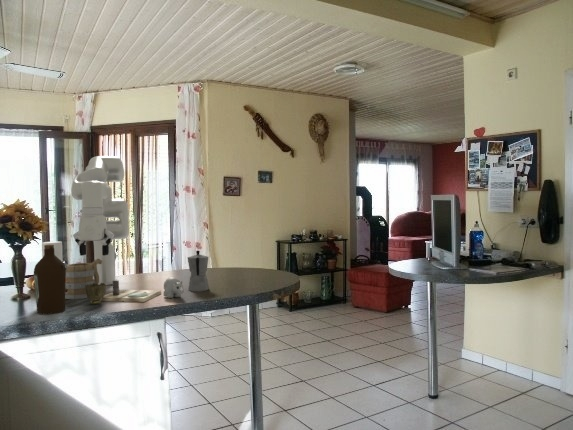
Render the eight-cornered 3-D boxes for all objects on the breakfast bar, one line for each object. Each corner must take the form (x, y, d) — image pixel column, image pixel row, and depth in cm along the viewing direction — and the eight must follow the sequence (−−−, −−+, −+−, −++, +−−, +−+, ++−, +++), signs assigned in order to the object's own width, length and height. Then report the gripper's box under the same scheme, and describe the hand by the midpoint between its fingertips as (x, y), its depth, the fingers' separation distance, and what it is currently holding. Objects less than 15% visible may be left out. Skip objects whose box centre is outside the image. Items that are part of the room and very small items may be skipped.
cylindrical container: (48, 302, 182) (46, 241, 181) (66, 302, 183) (64, 241, 182) (40, 306, 175) (38, 243, 174) (59, 306, 176) (57, 242, 175)
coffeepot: (188, 287, 209) (188, 249, 209) (209, 286, 211) (208, 248, 210) (187, 294, 194) (186, 253, 194) (209, 293, 196) (208, 252, 195)
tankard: (80, 300, 186) (79, 264, 185) (57, 298, 190) (56, 263, 190) (114, 291, 204) (113, 258, 204) (92, 289, 209) (91, 257, 208)
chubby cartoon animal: (173, 301, 179) (173, 280, 179) (161, 297, 189) (160, 277, 188) (189, 299, 184) (189, 278, 184) (176, 294, 193) (176, 275, 193)
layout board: (98, 301, 183) (97, 282, 183) (119, 293, 199) (118, 276, 199) (143, 301, 180) (143, 283, 180) (161, 293, 196) (160, 276, 196)
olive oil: (67, 306, 174) (65, 243, 173) (66, 312, 164) (64, 245, 163) (36, 310, 169) (34, 244, 169) (33, 316, 160) (31, 247, 159)
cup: (109, 301, 181) (108, 282, 181) (99, 306, 174) (99, 285, 174) (91, 301, 182) (91, 282, 182) (81, 306, 175) (81, 285, 175)
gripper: (67, 212, 175) (68, 256, 175) (107, 212, 172) (109, 256, 172) (78, 212, 182) (80, 254, 182) (118, 211, 179) (119, 254, 180)
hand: (94, 255), depth 177 cm, fingers open, 9 cm apart
